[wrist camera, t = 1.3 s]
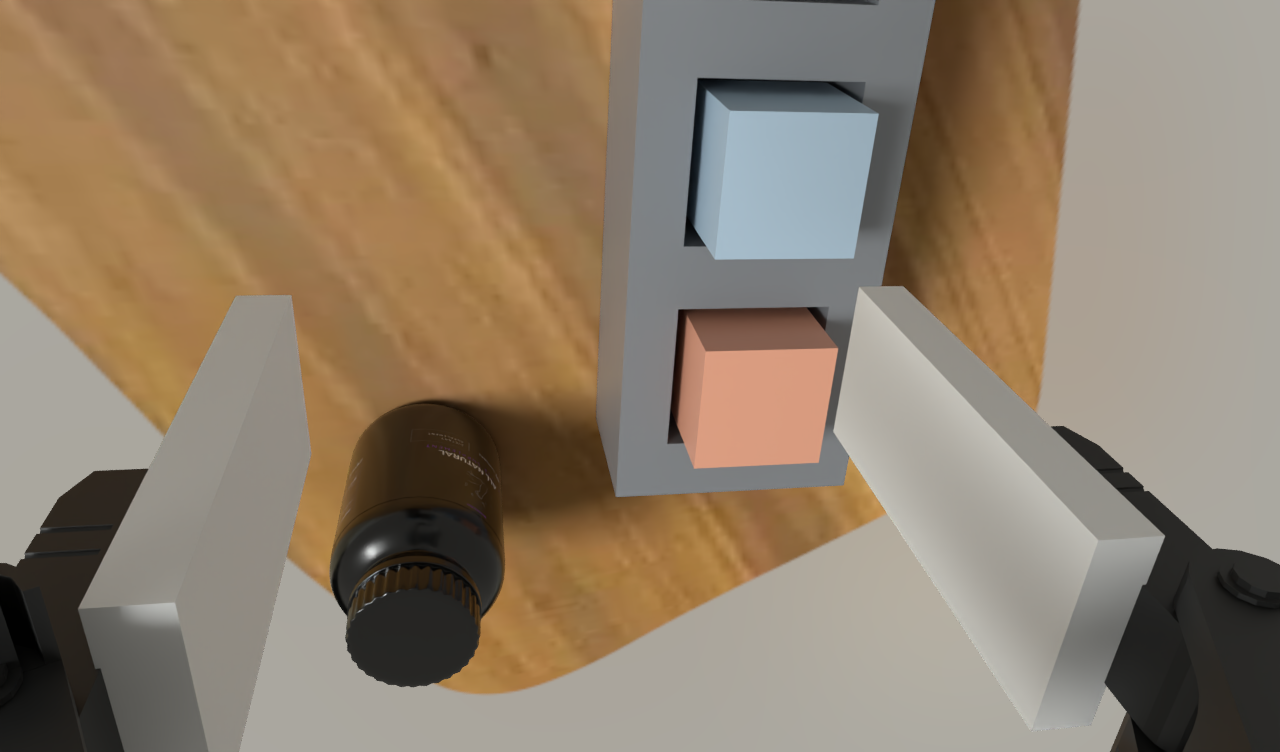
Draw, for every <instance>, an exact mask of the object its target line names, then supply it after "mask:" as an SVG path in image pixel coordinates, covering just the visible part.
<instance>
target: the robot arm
mask: <svg viewBox="0 0 1280 752" xmlns="http://www.w3.org/2000/svg"><path fill="white" fill-rule="evenodd" d="M833 432H834V434H835V435H836V437H837V438H838V440H839V441H840V443H841V444H842V446H843V447H844V449H845V450H846V452H847V453H848V455H849V456H850V458H851V459H852V461H853V462H854V464H855V465H856V467H857V468H858V470H859V471H860V473H861V474H862V476H863V478H864V479H865V481H866V482H867V484H868V485H869V487H870V488H871V490H872V491H873V493H874V494H875V496H876V497H877V499H878V500H879V502H880V503H881V505H882V506H883V508H884V509H885V511H886V512H887V514H888V515H889V517H890V518H891V520H892V521H893V523H894V524H895V526H896V527H897V529H898V531H899V532H900V534H901V535H902V537H903V538H904V540H905V541H906V543H907V544H908V546H909V547H910V549H911V550H912V552H913V553H914V555H915V556H916V558H917V559H918V561H919V562H920V564H921V565H922V567H923V568H924V570H925V571H926V573H927V574H928V576H929V578H930V579H931V581H932V582H933V584H934V585H935V587H936V588H937V590H938V591H939V593H940V594H941V596H942V597H943V599H944V600H945V602H946V603H947V605H948V606H949V608H950V609H951V611H952V612H953V614H954V615H955V617H956V618H957V620H958V621H959V623H960V625H961V626H962V628H963V629H964V631H965V632H966V633H967V635H968V637H969V638H970V640H971V641H972V642H973V644H974V646H975V647H976V648H977V650H978V652H979V653H980V655H981V656H982V658H983V659H984V661H985V662H986V664H987V665H988V667H989V668H990V670H991V671H992V673H993V674H994V676H995V678H996V679H997V680H998V682H999V684H1000V685H1001V687H1002V688H1003V690H1004V691H1005V692H1006V694H1007V696H1008V697H1009V699H1010V700H1011V702H1012V703H1013V705H1014V706H1015V708H1016V709H1017V711H1018V712H1019V714H1020V715H1021V717H1022V718H1023V720H1024V721H1025V723H1026V724H1027V726H1028V727H1029V729H1030V730H1031V731H1041V730H1050V729H1060V728H1070V727H1079V726H1089V725H1091V724H1092V721H1093V719H1094V716H1095V714H1096V711H1097V708H1098V706H1099V703H1100V701H1101V698H1102V696H1103V693H1104V691H1105V688H1106V686H1107V687H1108V688H1109V689H1110V691H1111V692H1112V693H1113V695H1114V696H1115V697H1116V698H1117V700H1118V701H1119V702H1120V703H1121V705H1122V706H1123V707H1124V709H1125V710H1126V711H1127V713H1126V715H1125V717H1124V720H1123V722H1122V724H1121V727H1120V729H1119V732H1118V734H1117V736H1116V739H1115V741H1114V744H1113V746H1112V749H1111V751H1110V752H1280V565H1279V564H1277V563H1275V562H1273V561H1271V560H1269V559H1267V558H1264V557H1260V556H1256V555H1253V554H1250V553H1246V552H1243V551H1237V550H1227V549H1212V548H1211V547H1210V546H1208V545H1207V544H1206V543H1205V542H1204V541H1203V540H1202V539H1201V538H1200V537H1198V536H1197V535H1196V534H1195V533H1194V532H1193V531H1192V530H1191V529H1190V528H1188V526H1187V525H1185V524H1184V523H1183V522H1182V521H1181V520H1180V519H1179V518H1178V517H1176V516H1175V515H1174V514H1173V513H1172V512H1171V511H1170V510H1169V509H1168V508H1167V507H1166V506H1164V505H1163V504H1162V503H1161V502H1160V501H1159V500H1158V499H1157V498H1156V497H1155V496H1154V495H1152V494H1151V493H1150V492H1149V491H1144V489H1143V485H1142V484H1140V483H1139V482H1138V481H1137V480H1136V479H1135V478H1134V477H1133V476H1132V475H1131V474H1129V473H1127V472H1125V473H1124V472H1123V467H1122V466H1121V465H1119V464H1118V463H1117V462H1116V461H1115V460H1114V459H1113V458H1112V457H1111V456H1110V455H1109V454H1107V453H1106V452H1105V451H1104V450H1103V449H1102V448H1101V447H1100V446H1099V445H1097V444H1095V443H1093V442H1092V441H1090V440H1088V439H1086V438H1084V437H1082V436H1081V435H1079V434H1077V433H1075V432H1073V431H1071V430H1070V429H1068V428H1066V427H1064V426H1053V427H1050V426H1049V425H1048V424H1047V423H1046V422H1045V421H1044V420H1043V419H1042V418H1041V417H1040V416H1039V415H1038V414H1037V413H1036V412H1035V411H1034V410H1033V409H1031V408H1030V407H1029V406H1028V405H1027V404H1026V403H1025V402H1024V401H1023V400H1022V399H1021V398H1020V397H1019V396H1018V395H1017V394H1016V393H1015V392H1014V391H1013V390H1012V389H1011V388H1009V387H1008V386H1007V385H1006V384H1005V383H1004V382H1003V381H1002V380H1001V379H1000V378H999V377H998V376H997V375H996V374H995V373H994V372H993V371H992V370H991V369H990V368H988V367H987V366H986V365H985V364H984V363H983V362H982V361H981V360H980V359H979V358H978V357H977V356H976V355H975V354H974V353H973V352H972V351H971V350H970V349H969V348H968V347H966V346H965V345H964V344H963V343H962V342H961V341H960V340H959V339H958V338H957V337H956V336H955V335H954V334H953V333H952V332H951V331H950V330H949V329H948V328H947V327H945V326H944V325H943V324H942V323H941V322H940V321H939V320H938V319H937V318H936V317H935V316H934V315H933V314H932V313H931V312H930V311H929V310H928V309H927V308H926V307H924V306H923V305H922V304H921V303H920V302H919V301H918V300H917V299H916V298H915V297H914V296H913V295H912V294H911V293H910V292H909V291H908V290H907V289H906V288H905V287H904V286H876V287H859V289H858V295H857V301H856V306H855V312H854V318H853V323H852V329H851V335H850V340H849V346H848V352H847V357H846V363H845V368H844V374H843V380H842V385H841V391H840V397H839V402H838V408H837V414H836V419H835V425H834V430H833ZM310 457H311V448H310V440H309V432H308V424H307V416H306V408H305V400H304V392H303V384H302V376H301V368H300V360H299V352H298V344H297V336H296V328H295V320H294V313H293V305H292V297H291V295H258V296H236V297H235V299H234V301H233V303H232V305H231V306H230V308H229V310H228V312H227V314H226V316H225V318H224V320H223V322H222V324H221V326H220V328H219V330H218V332H217V334H216V336H215V338H214V340H213V342H212V344H211V346H210V348H209V350H208V352H207V354H206V356H205V358H204V360H203V362H202V364H201V366H200V368H199V370H198V372H197V374H196V376H195V378H194V380H193V382H192V384H191V386H190V388H189V390H188V392H187V394H186V396H185V398H184V400H183V402H182V404H181V406H180V408H179V410H178V412H177V414H176V416H175V418H174V420H173V421H172V423H171V425H170V427H169V429H168V431H167V433H166V435H165V437H164V439H163V441H162V443H161V445H160V447H159V449H158V451H157V453H156V455H155V457H154V459H153V461H152V463H151V465H150V467H149V469H132V470H109V471H94V472H93V473H91V474H90V475H89V476H87V477H86V478H85V479H83V480H82V481H81V482H79V483H78V484H77V485H75V486H74V487H73V488H71V489H70V490H69V491H68V492H66V493H65V494H63V495H62V496H61V497H59V499H58V500H57V502H56V503H55V505H54V507H53V508H52V510H51V511H50V513H49V515H48V516H47V518H46V520H45V521H44V523H43V525H42V526H41V528H40V530H41V531H40V534H36V536H35V537H34V539H33V540H32V542H31V544H30V545H29V547H28V549H27V550H26V552H25V559H21V560H20V561H19V563H18V565H17V566H16V567H15V566H12V565H9V564H7V563H0V752H239V749H240V745H241V741H242V737H243V733H244V728H245V724H246V720H247V716H248V712H249V708H250V704H251V699H252V696H253V692H254V687H255V683H256V679H257V675H258V671H259V667H260V663H261V659H262V655H263V650H264V646H265V642H266V638H267V634H268V629H269V626H270V622H271V618H272V613H273V609H274V605H275V601H276V597H277V593H278V589H279V585H280V580H281V576H282V572H283V568H284V564H285V560H286V556H287V552H288V548H289V544H290V539H291V535H292V531H293V527H294V523H295V519H296V515H297V511H298V507H299V502H300V498H301V494H302V490H303V486H304V482H305V478H306V474H307V470H308V465H309V461H310Z"/></svg>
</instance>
